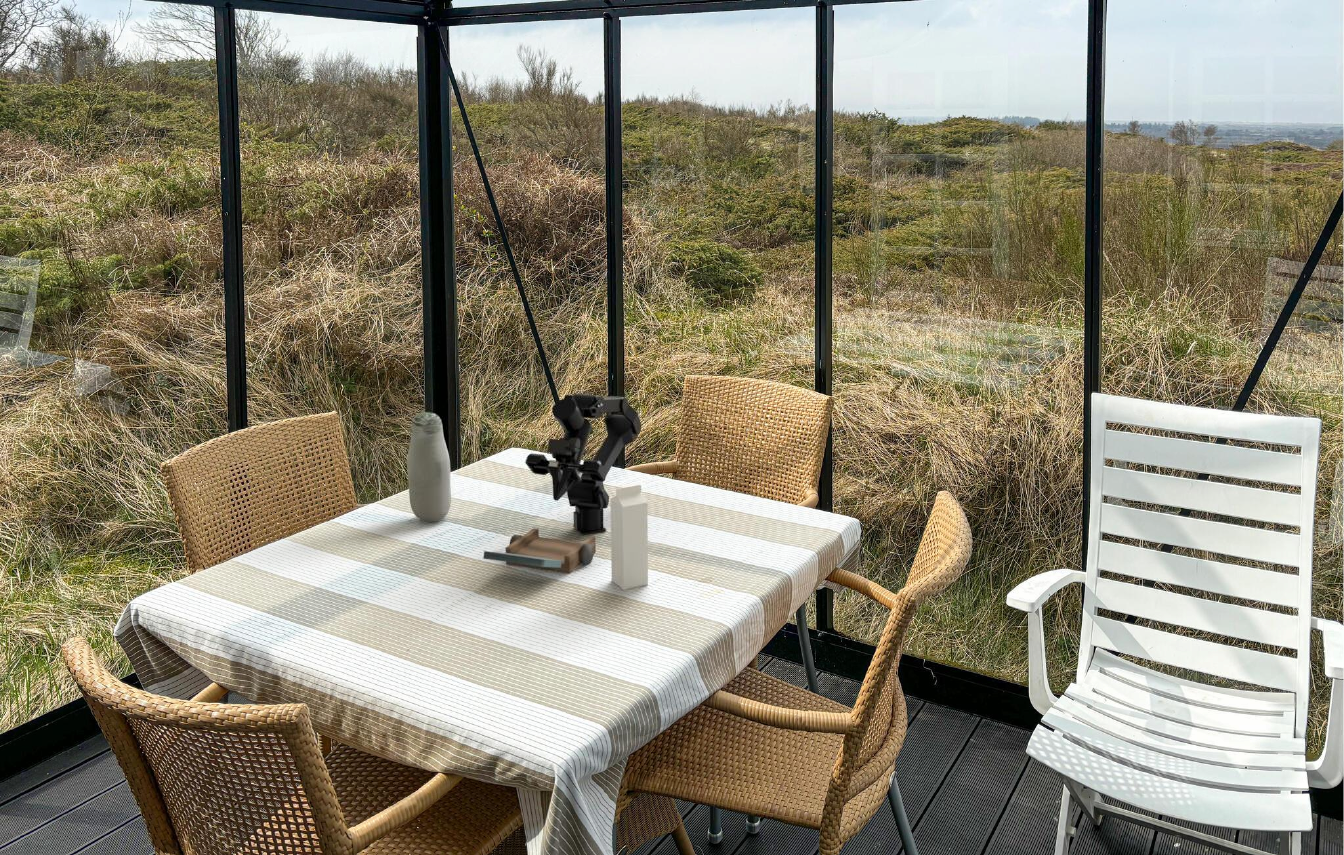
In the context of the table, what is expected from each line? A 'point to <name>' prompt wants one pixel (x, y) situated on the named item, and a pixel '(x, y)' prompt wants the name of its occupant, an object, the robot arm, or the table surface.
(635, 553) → the milk
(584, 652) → the table surface
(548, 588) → the table surface
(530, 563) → the panel
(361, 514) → the table surface
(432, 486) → the grey bottle
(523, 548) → the trailer
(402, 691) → the table surface
